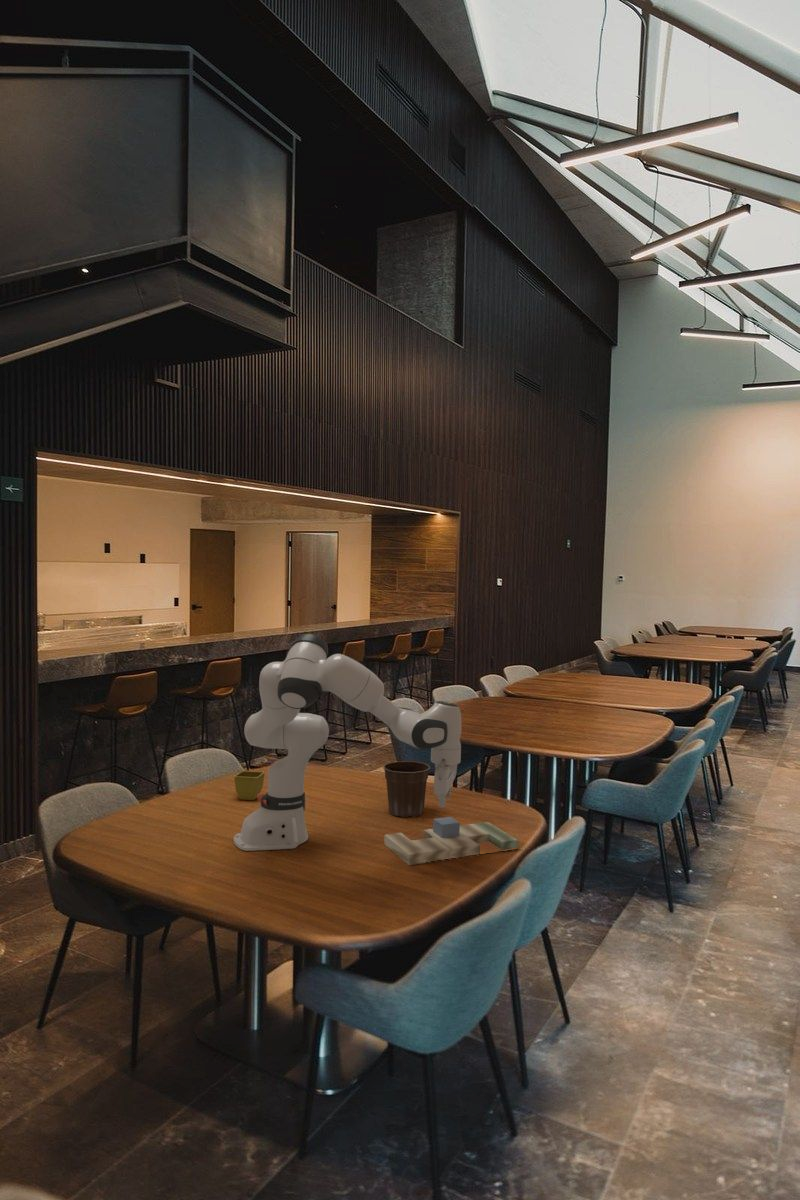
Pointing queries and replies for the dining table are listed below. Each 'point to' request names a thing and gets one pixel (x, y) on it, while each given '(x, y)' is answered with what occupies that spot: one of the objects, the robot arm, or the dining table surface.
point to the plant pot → (406, 787)
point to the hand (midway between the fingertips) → (444, 801)
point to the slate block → (446, 827)
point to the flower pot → (249, 784)
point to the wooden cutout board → (448, 843)
